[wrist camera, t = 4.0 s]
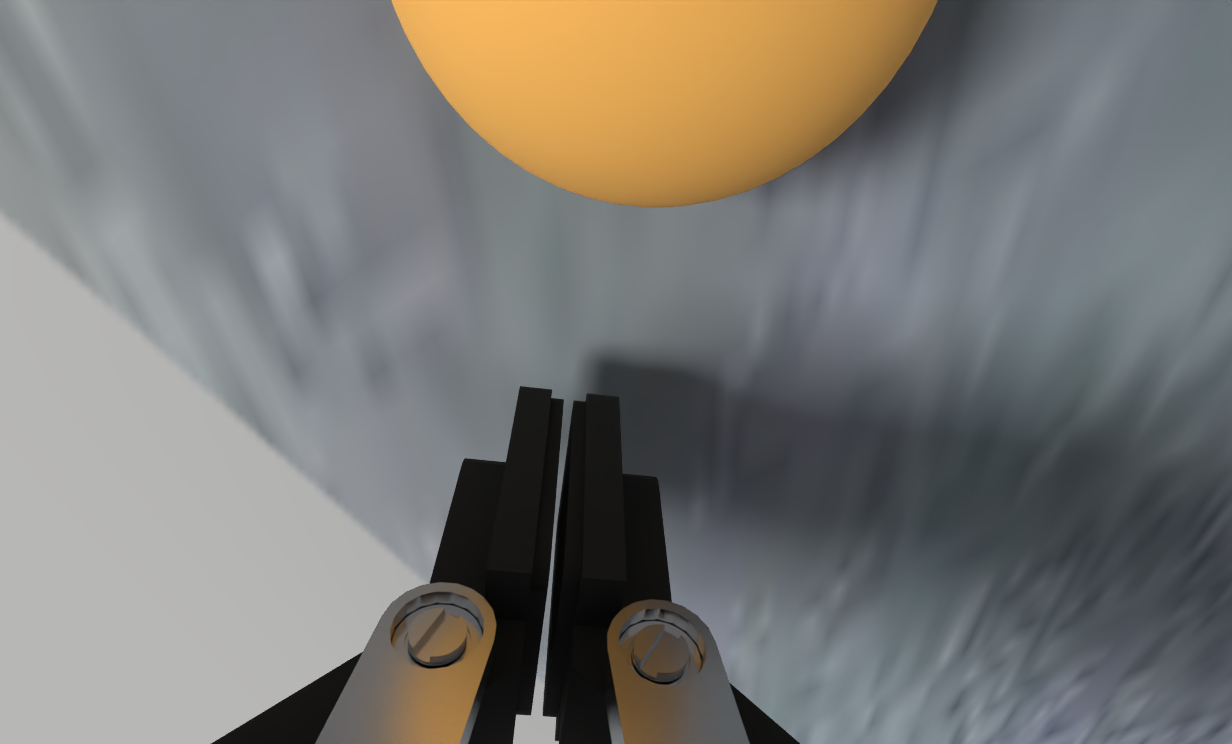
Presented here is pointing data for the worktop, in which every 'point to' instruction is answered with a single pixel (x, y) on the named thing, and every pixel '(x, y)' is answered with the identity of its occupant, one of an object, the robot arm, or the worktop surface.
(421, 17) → the ball
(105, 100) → the worktop surface
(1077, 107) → the worktop surface
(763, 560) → the worktop surface
